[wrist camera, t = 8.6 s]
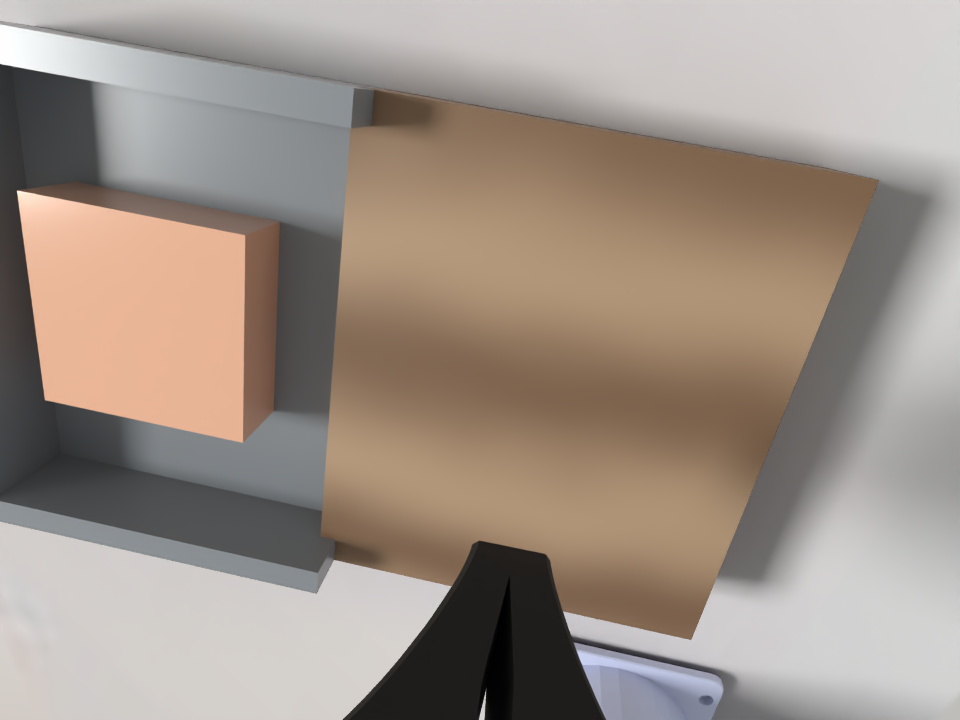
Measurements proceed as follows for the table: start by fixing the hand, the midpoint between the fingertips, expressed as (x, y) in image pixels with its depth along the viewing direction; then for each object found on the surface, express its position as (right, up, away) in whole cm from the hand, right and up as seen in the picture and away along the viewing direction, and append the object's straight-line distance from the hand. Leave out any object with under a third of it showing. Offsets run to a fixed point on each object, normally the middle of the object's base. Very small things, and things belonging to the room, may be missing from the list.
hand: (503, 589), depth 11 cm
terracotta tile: (-9, +6, +7) cm, 13 cm away
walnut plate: (+2, +4, +8) cm, 9 cm away
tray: (-9, +6, +9) cm, 14 cm away
